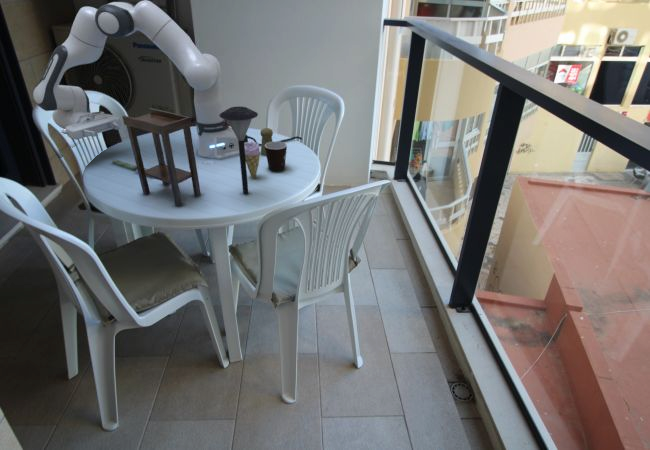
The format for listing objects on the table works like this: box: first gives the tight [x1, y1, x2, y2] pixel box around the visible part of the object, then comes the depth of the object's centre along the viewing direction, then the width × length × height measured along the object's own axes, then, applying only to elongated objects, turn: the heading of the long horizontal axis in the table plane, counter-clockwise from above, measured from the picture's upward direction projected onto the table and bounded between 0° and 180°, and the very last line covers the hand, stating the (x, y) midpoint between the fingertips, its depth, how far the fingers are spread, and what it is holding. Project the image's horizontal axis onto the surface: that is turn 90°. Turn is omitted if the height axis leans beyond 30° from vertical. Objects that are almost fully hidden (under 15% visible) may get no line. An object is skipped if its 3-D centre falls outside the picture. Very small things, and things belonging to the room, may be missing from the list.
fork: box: [111, 159, 153, 179], centre depth 154 cm, size 24×4×1 cm, turn 61°
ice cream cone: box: [245, 140, 261, 179], centre depth 147 cm, size 7×6×15 cm
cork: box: [260, 127, 274, 157], centre depth 169 cm, size 6×6×11 cm
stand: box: [121, 107, 202, 208], centre depth 130 cm, size 18×11×28 cm, turn 61°
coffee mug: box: [265, 140, 288, 173], centre depth 157 cm, size 12×9×10 cm
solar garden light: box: [219, 106, 259, 196], centre depth 132 cm, size 12×12×30 cm
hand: (107, 130), depth 151 cm, fingers open, 8 cm apart
